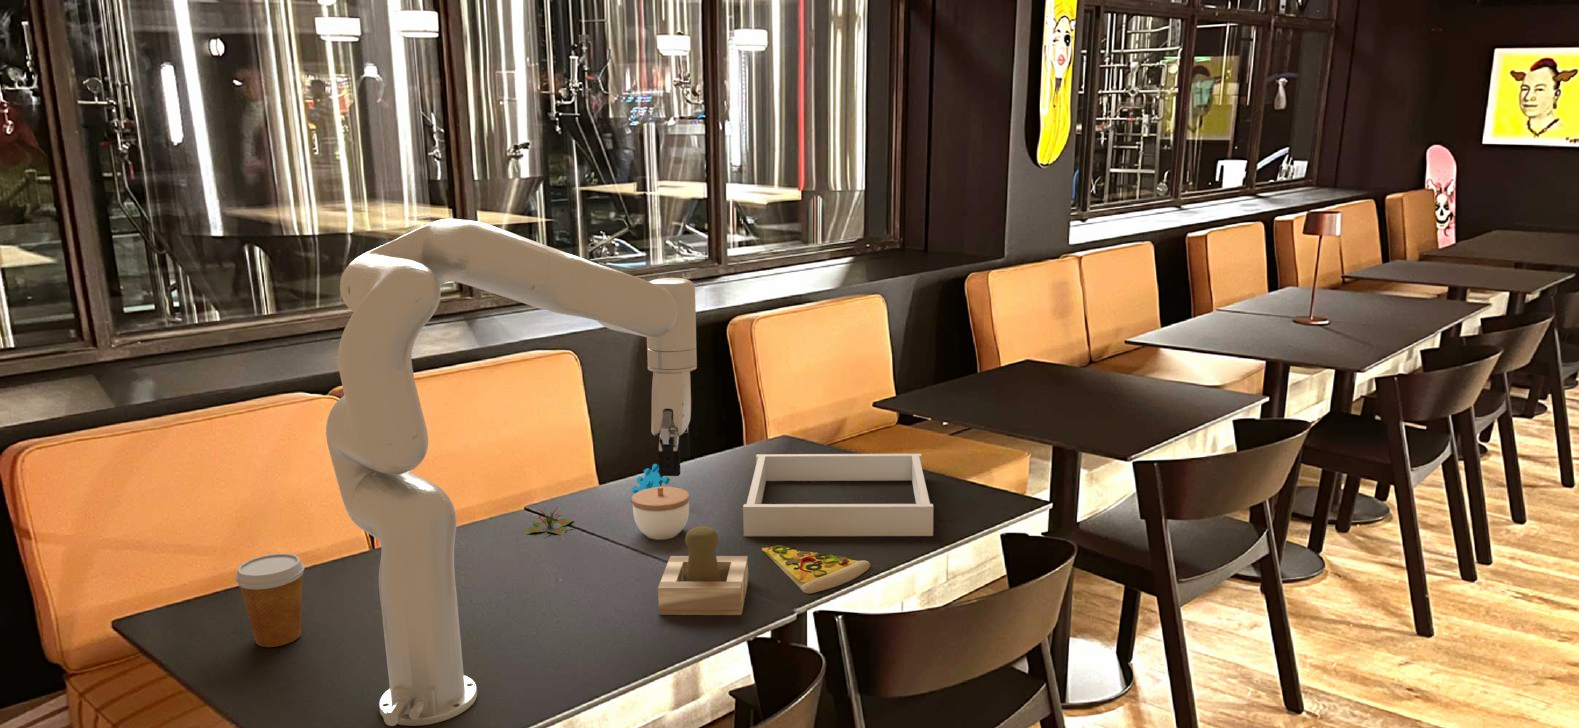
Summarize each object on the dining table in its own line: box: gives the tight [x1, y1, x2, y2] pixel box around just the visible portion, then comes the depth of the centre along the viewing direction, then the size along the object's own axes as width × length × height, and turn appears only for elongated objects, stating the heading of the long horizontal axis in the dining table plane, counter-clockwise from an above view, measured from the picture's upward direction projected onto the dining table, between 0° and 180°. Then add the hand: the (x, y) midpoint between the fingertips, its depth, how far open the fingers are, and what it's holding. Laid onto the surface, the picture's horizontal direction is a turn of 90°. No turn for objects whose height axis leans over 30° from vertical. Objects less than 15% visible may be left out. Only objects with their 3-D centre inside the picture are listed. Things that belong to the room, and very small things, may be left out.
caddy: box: [657, 555, 749, 616], centre depth 179 cm, size 13×13×4 cm
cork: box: [684, 525, 721, 582], centre depth 178 cm, size 6×6×11 cm
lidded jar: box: [631, 486, 690, 541], centre depth 207 cm, size 11×11×9 cm
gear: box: [630, 463, 671, 501], centre depth 225 cm, size 11×6×10 cm
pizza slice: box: [761, 544, 871, 594], centre depth 192 cm, size 16×21×3 cm
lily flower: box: [524, 505, 577, 538], centre depth 212 cm, size 12×12×5 cm
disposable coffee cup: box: [234, 553, 306, 648], centre depth 167 cm, size 10×10×12 cm
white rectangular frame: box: [742, 453, 934, 537], centre depth 220 cm, size 33×35×6 cm
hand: (674, 466), depth 173 cm, fingers open, 9 cm apart
